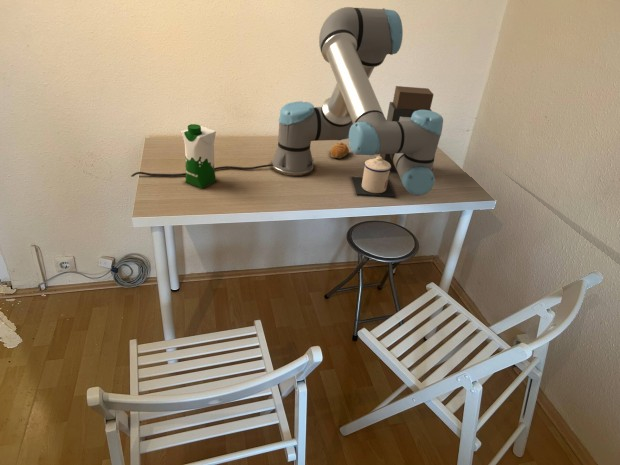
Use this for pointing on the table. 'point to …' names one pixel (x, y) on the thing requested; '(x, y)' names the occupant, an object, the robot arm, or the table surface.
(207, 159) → the milk carton
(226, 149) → the table surface
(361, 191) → the rubber mat
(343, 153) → the pastry
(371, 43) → the robot arm
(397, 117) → the coffee maker
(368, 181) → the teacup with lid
